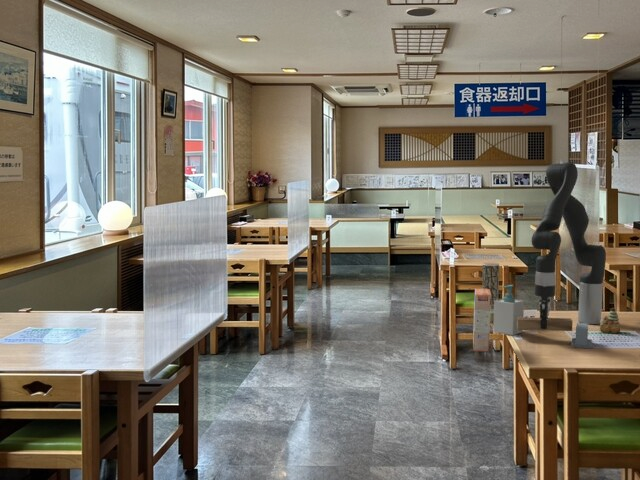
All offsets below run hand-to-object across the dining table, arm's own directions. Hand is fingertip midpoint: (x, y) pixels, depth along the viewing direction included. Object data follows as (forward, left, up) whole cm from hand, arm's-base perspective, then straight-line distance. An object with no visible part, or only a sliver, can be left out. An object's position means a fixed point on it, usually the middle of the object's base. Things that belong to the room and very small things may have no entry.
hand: (544, 327), depth 273 cm
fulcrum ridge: (+2, +14, -5) cm, 15 cm away
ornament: (-24, +24, -5) cm, 34 cm away
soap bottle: (-8, -14, -5) cm, 17 cm away
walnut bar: (0, 0, -1) cm, 1 cm away
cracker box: (+21, -20, -5) cm, 30 cm away
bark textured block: (-26, -24, -5) cm, 36 cm away
